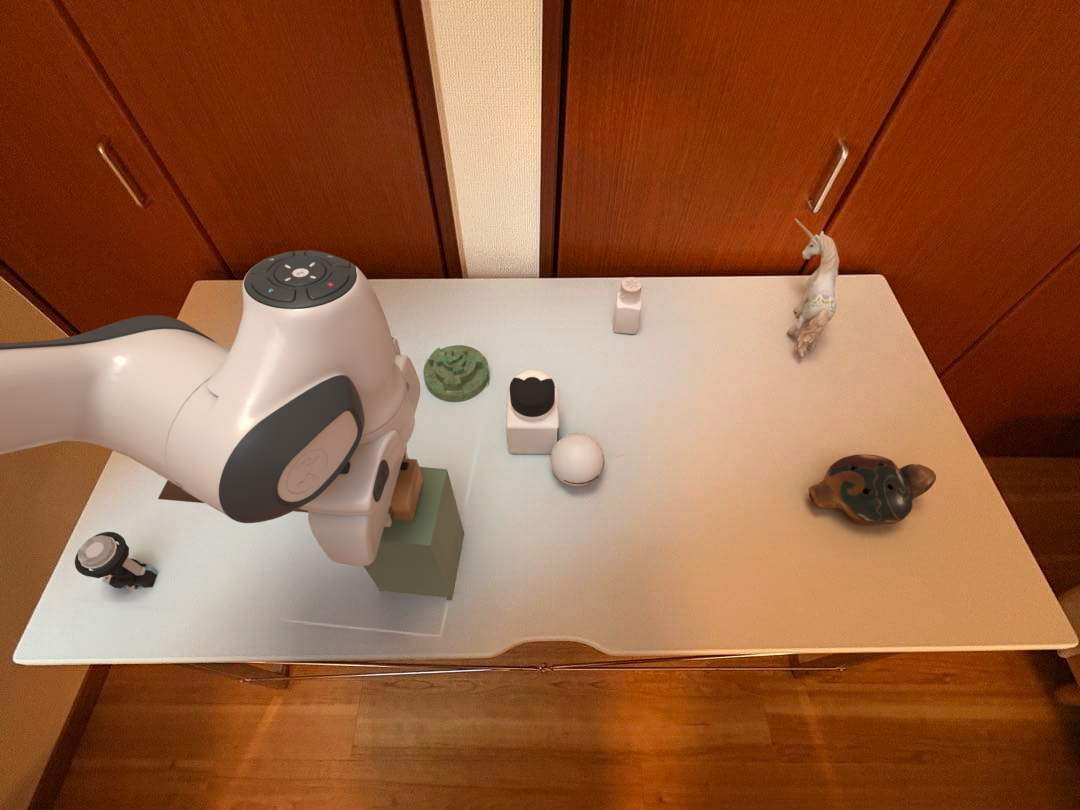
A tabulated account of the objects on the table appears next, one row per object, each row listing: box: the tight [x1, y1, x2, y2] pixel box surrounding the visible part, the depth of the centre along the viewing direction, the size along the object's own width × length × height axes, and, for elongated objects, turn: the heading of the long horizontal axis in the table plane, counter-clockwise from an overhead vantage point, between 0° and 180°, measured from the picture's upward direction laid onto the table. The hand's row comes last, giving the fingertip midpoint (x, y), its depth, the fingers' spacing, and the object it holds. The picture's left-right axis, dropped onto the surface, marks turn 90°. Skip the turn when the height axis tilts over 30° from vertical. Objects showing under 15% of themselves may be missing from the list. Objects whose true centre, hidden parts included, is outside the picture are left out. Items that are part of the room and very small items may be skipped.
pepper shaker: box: [612, 276, 643, 335], centre depth 99 cm, size 4×4×10 cm
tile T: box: [390, 458, 423, 521], centre depth 63 cm, size 5×5×4 cm
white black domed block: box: [505, 369, 560, 455], centre depth 86 cm, size 7×7×12 cm
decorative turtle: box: [808, 453, 937, 526], centre depth 80 cm, size 10×15×8 cm, turn 100°
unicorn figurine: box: [786, 218, 840, 358], centre depth 98 cm, size 7×20×13 cm, turn 178°
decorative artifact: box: [423, 344, 491, 403], centre depth 94 cm, size 10×7×10 cm
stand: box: [363, 466, 465, 601], centre depth 72 cm, size 9×9×17 cm
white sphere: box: [549, 432, 623, 487], centre depth 84 cm, size 10×7×7 cm
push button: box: [74, 531, 159, 591], centre depth 74 cm, size 7×5×10 cm
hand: (392, 492), depth 63 cm, fingers closed on tile T, 5 cm apart
